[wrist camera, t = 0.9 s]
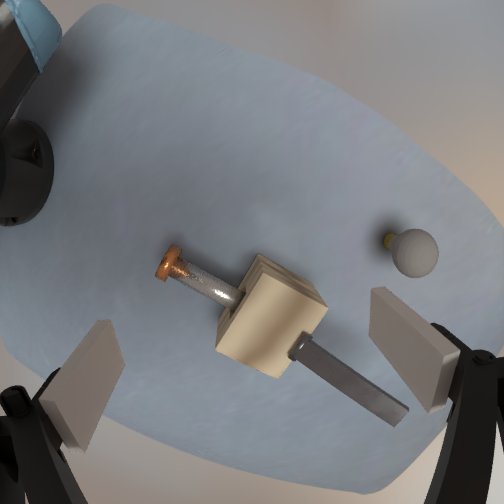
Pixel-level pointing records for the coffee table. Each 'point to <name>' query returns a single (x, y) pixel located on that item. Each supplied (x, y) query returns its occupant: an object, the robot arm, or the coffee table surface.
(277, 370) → the block
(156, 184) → the coffee table surface
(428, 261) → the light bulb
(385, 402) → the bar
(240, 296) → the pin
